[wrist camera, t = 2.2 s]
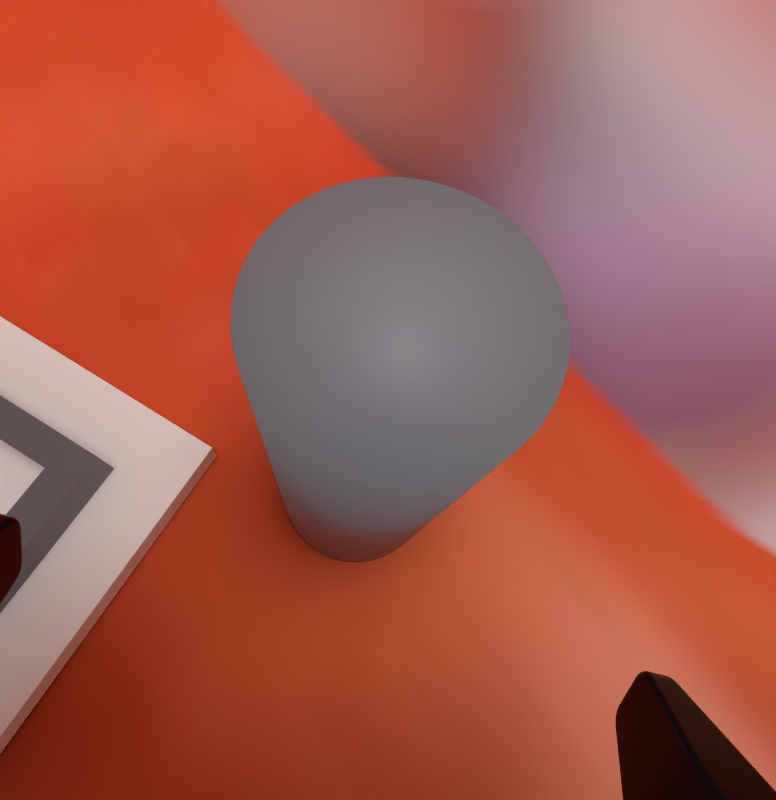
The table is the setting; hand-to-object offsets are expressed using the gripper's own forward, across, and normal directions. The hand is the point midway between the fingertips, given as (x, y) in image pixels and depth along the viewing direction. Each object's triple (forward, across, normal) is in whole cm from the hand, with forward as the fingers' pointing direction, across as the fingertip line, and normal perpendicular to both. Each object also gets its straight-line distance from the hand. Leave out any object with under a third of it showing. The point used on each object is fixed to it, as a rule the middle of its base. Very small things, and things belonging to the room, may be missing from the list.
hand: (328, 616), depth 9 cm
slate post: (+11, 0, +5) cm, 12 cm away
